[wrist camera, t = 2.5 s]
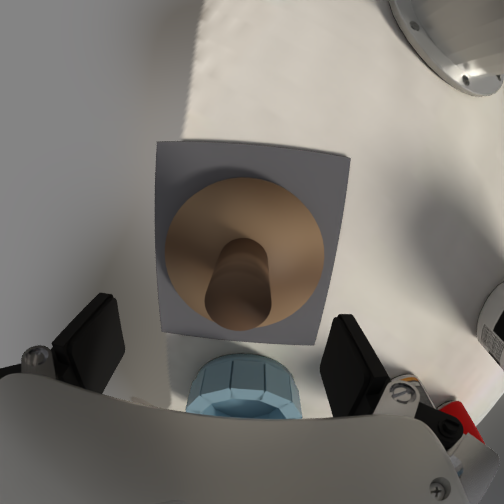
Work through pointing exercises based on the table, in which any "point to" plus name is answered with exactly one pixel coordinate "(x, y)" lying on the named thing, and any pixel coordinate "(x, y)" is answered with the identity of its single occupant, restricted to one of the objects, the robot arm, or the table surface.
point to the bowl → (245, 389)
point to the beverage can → (461, 417)
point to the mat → (261, 167)
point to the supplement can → (493, 325)
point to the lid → (244, 253)
